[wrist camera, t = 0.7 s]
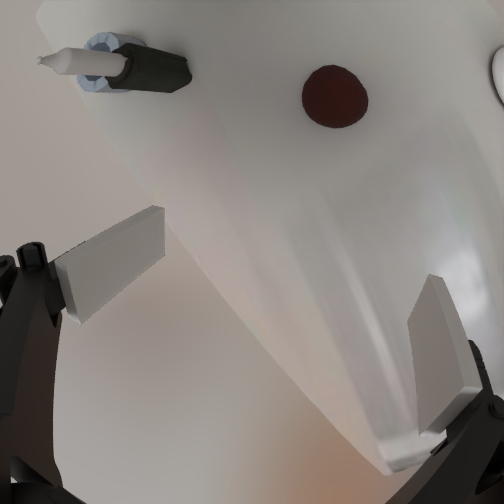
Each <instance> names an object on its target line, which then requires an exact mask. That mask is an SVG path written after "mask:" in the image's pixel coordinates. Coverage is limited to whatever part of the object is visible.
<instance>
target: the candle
mask: <svg viewBox="0 0 504 504" xmlns="http://www.w3.org/2000/svg"><path fill="white" fill-rule="evenodd" d="M35 62H36V64H37V65H39V64H43V65H46V66H48V67H51V68H53V70H54V71H55V72H56V73H58V74H60V75H97V76H104V77H105V79H106V80H107V81H108V85H109V87H110V88H111V89H122V90H141V91H154V92H165V93H172V92H174V91H176V90H178V89H180V88H182V87H184V86H186V85H188V84H189V83H190V82H191V79H192V75H191V74H190V72H189V69H188V66H187V63H186V62H187V60H186V59H185V58H184V57H181V56H178V55H175V54H171V53H168V52H164V51H161V50H157V49H154V48H150V47H146V46H142V45H138V44H133V43H125V44H123V45H122V46H121V47H119V48H116V49H114V50H113V51H112V52H111V53H110V52H103V51H96V50H87V49H78V48H64V49H62V50H60V51H59V52H57V53H55V54H52V55H49V56H46V57H38V58H37V59H36V60H35Z"/></svg>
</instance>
